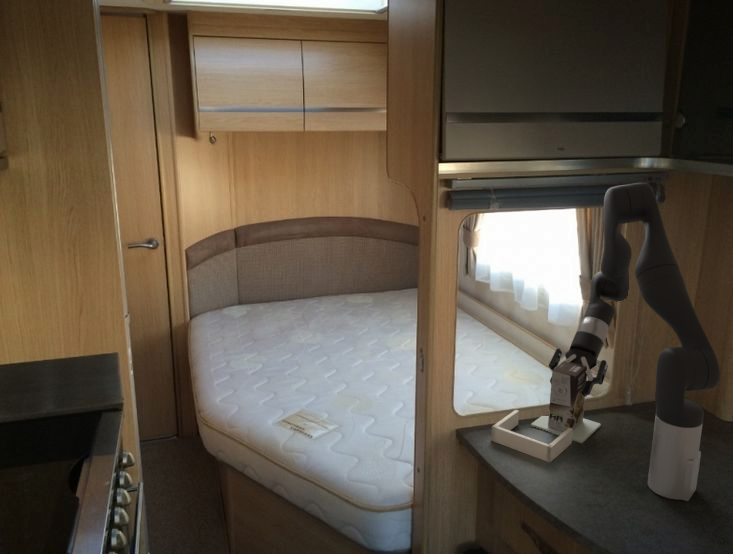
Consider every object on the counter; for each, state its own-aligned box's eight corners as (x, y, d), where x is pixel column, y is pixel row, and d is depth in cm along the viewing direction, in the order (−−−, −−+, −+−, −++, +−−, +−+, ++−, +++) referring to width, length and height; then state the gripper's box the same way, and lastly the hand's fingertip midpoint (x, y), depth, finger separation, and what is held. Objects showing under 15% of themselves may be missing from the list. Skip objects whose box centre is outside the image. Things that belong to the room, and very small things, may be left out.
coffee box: (570, 434, 167) (575, 376, 163) (547, 427, 171) (551, 370, 167) (584, 421, 174) (589, 365, 170) (560, 414, 178) (565, 359, 174)
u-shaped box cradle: (571, 443, 164) (572, 428, 163) (549, 462, 155) (551, 447, 154) (514, 423, 174) (515, 409, 173) (491, 440, 166) (492, 426, 165)
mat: (600, 425, 173) (601, 423, 172) (581, 443, 164) (581, 441, 164) (551, 410, 182) (551, 408, 181) (531, 425, 173) (531, 423, 173)
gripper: (561, 325, 177) (538, 377, 172) (613, 336, 168) (591, 392, 163) (568, 338, 182) (546, 389, 177) (619, 350, 173) (598, 404, 168)
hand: (568, 390), depth 170 cm, fingers open, 8 cm apart
